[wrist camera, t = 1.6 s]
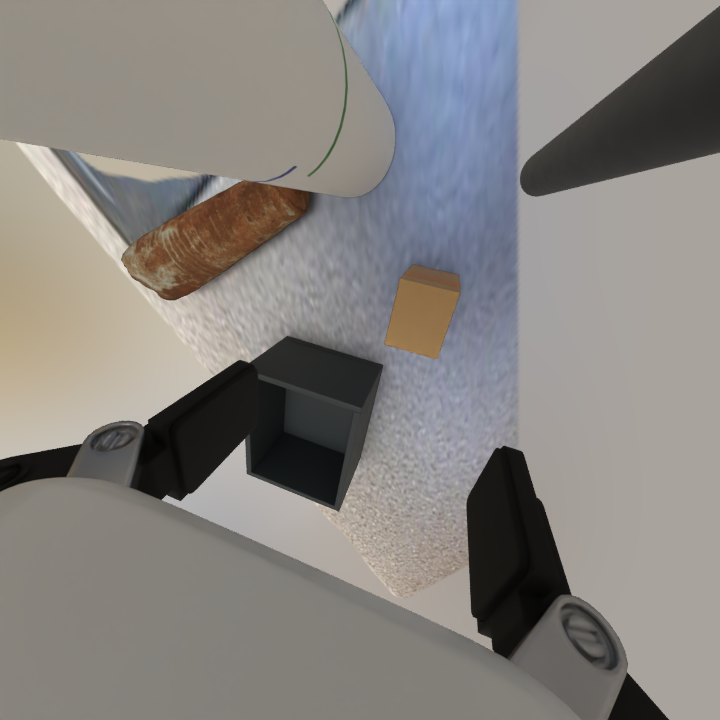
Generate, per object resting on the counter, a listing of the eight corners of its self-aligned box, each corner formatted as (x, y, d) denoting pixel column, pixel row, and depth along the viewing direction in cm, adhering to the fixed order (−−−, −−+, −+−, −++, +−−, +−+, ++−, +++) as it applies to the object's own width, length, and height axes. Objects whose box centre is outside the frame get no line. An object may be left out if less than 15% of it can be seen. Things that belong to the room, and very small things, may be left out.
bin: (287, 335, 31) (241, 367, 25) (383, 365, 29) (361, 408, 23) (282, 429, 38) (246, 474, 32) (360, 457, 36) (338, 511, 30)
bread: (160, 241, 31) (106, 245, 26) (300, 151, 23) (260, 134, 18) (192, 296, 33) (147, 309, 28) (330, 231, 25) (301, 234, 20)
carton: (412, 263, 24) (399, 277, 19) (459, 274, 24) (461, 292, 18) (398, 318, 27) (383, 344, 21) (441, 329, 26) (437, 360, 20)
